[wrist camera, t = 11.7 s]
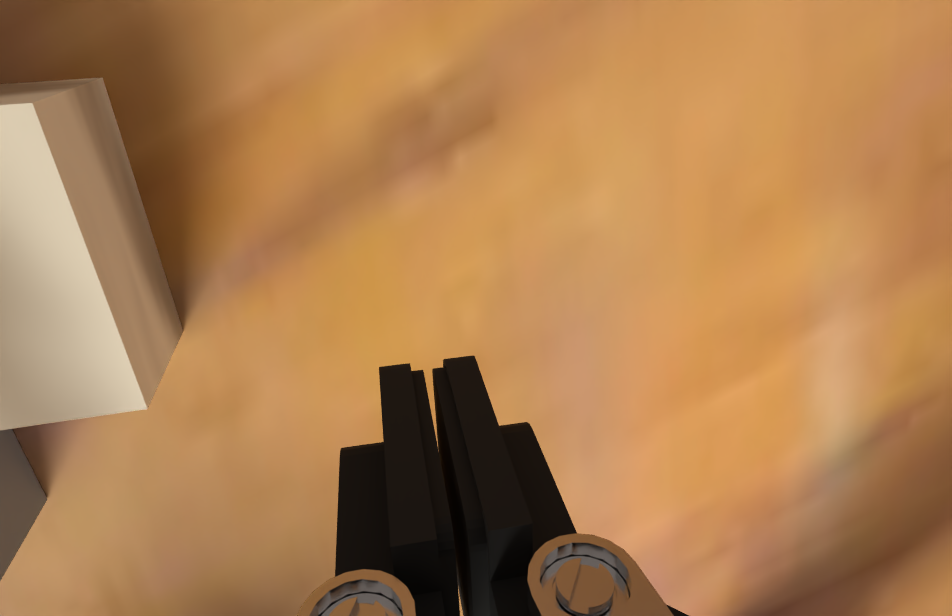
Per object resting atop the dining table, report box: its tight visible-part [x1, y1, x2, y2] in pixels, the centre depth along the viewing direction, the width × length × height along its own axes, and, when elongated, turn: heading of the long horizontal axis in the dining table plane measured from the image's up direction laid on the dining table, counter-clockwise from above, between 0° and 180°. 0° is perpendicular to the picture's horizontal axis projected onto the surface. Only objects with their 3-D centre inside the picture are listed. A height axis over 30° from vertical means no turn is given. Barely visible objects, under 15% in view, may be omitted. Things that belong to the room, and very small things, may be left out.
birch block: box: [0, 78, 183, 430], centre depth 16 cm, size 6×8×4 cm
